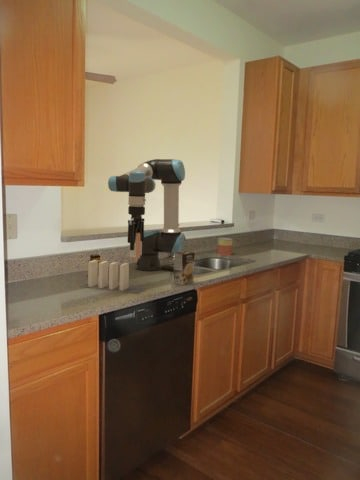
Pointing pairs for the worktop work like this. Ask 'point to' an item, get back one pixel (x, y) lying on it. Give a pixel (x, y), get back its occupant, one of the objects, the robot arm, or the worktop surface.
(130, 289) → the mat
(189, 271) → the coffee box
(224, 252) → the canned food
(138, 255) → the domino
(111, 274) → the domino
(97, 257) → the condiment
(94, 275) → the domino
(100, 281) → the domino
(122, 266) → the domino
